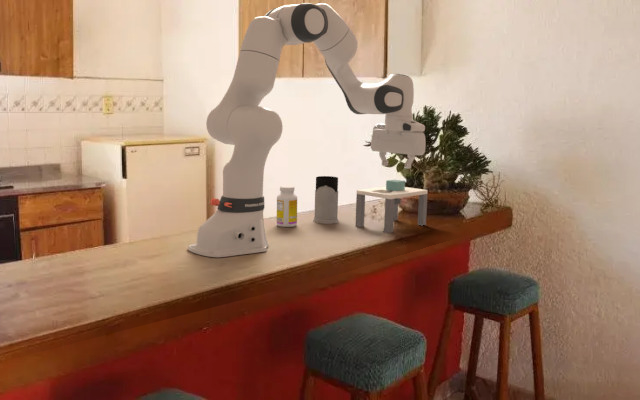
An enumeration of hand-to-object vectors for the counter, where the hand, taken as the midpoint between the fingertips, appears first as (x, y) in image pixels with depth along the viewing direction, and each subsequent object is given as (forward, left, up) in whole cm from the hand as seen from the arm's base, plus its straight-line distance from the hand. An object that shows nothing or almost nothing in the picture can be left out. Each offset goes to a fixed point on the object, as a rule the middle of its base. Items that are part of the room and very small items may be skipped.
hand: (396, 167), depth 218 cm
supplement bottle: (-28, +22, -20) cm, 41 cm away
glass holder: (-10, +21, -20) cm, 31 cm away
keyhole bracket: (-1, 0, -20) cm, 20 cm away
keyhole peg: (0, 0, -12) cm, 12 cm away
